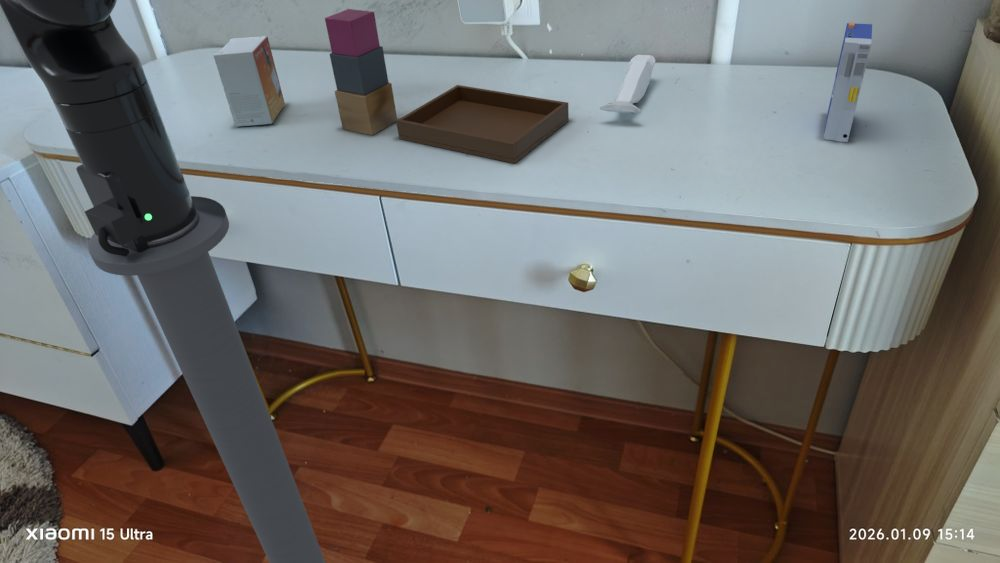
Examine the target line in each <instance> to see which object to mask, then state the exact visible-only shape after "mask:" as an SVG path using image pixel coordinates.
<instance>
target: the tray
mask: <svg viewBox="0 0 1000 563" xmlns="http://www.w3.org/2000/svg"><path fill="white" fill-rule="evenodd" d="M569 120H570V119H569V102H567V101H561V100H555V99H548V98H543V97H535V96H529V95H523V94H517V93H510V92H506V91H505V92H504V91H498V90H491V89H485V88H479V87H473V86H466V85H460V84H456V85H454V86H453V87H451V88H450V89H448V90H446V91H445V92H443V93H441V94H439V95H437V96H436V97H434V98H432V99H431V100H429V101H427V102H425V103H424V104H422V105H420V106H419V107H417V108H415V109H413V110H412V111H410V112H409V113H407V114H405V115H403V116H401V117H399V118H397V120H396V122H395V123H396V128H397V134H398V139H399V140H404V141H408V142H413V143H417V144H422V145H426V146H430V147H435V148H441V149H444V150H445V149H446V150H450V151H455V152H459V153H463V154H468V155H473V156H477V157H482V158H486V159H491V160H497V161H499V162H500V161H502V162H506V163H510V164H516V163H517V162H519V161H520V160H521V159H523V158H524V157H525V156H526V155H528V154H529V153H530V152H531V151H533V150H534V149H536V147H537V146H539V145H540V144H541V143H542V142H544V141H546V140H547V139H548V138H549V137H550V136H552V135H553V134H554V133H555V132H556V131H557V130H559V129H560V128H562V127H563V126H564V125H565V124H567V123H568V122H569Z"/></svg>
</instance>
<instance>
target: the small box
mask: <svg viewBox="0 0 1000 563" xmlns="http://www.w3.org/2000/svg"><path fill="white" fill-rule="evenodd" d="M213 59H214V62H215V65H216V69H217V72H218V75H219V79H220V81H221V84H222V88H223V92H224V94H225V98H226V102H227V104H228V107H229V112H230V114H231V116H232V120H233V123H234V125H235V127H236V128H239V127H249V126H262V125H272V124H273V123H274V122H275V120H276V118H277V117H278V115H279V114H280V113H281V111H283V110H282V109H283V108H284V107H285V106H286V103H285V98H284V96H283V90H282V87H281V84H280V79H279V76H278V72H277V68H276V63H275V60H274V56H273V53H272V49H271V44H270V40H269V37H268V36H267V35H261V36H259V35H258V36H248V37H235V38H234V37H233V38H230V39H229V40H228V42H227V43H226V44H225V45H224V46H222V48H221V49H219V50H218V51H217V52H215V53H214V54H213Z"/></svg>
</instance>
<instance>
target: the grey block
mask: <svg viewBox="0 0 1000 563" xmlns="http://www.w3.org/2000/svg"><path fill="white" fill-rule="evenodd" d="M329 58H330V63H331V67H332V73H333V77H334V82H335V88H336V90H338V91H343V92H348V93H354V94H359V95H367V94H369V93H370V92H372V91H374V90H376V89H378V88H380V87H382V86H384V85H386V84H388V83H389V78H388V70H387V66H386V59H385V54H384V48H383V46H381V45H380V47H378V48H376V49H374V50H372V51H369V52H367V53H365V54H363V55H361V56H358V57H354V56H348V55H341V54H334V53H332V52H330V53H329Z"/></svg>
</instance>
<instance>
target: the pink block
mask: <svg viewBox="0 0 1000 563" xmlns="http://www.w3.org/2000/svg"><path fill="white" fill-rule="evenodd" d="M324 21H325V26H326V31H327V34H328V40H329V46H330V50H331V53H334V54H341V55H348V56H354V57H358V56H361V55H363V54H365V53H367V52H369V51H372V50H374V49H376V48H378V47H380V46H381V45H380V38H379V34H378V27H377V21H376V15H375V11H371V10H361V9H352V8H347V9H345V10H343V11H339V12H337V13H334V14H332V15H329V16H327V17H324Z"/></svg>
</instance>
